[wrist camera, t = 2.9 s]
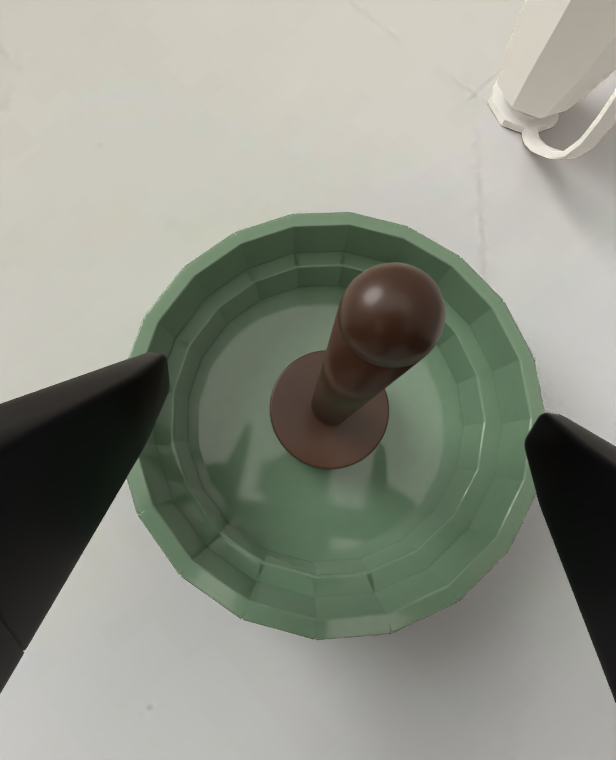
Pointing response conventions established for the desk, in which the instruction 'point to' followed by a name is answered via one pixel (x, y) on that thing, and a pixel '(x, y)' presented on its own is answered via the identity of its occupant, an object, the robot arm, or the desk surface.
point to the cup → (556, 70)
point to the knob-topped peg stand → (357, 367)
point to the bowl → (332, 486)
